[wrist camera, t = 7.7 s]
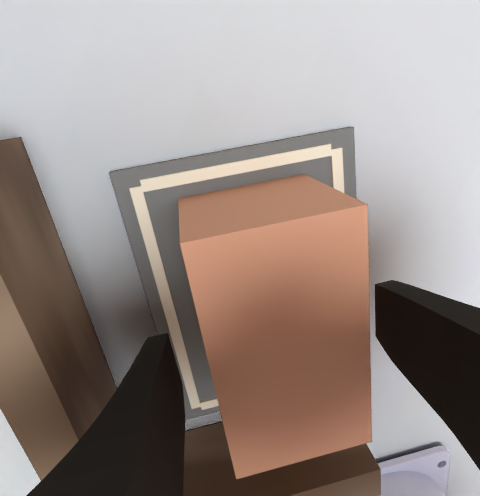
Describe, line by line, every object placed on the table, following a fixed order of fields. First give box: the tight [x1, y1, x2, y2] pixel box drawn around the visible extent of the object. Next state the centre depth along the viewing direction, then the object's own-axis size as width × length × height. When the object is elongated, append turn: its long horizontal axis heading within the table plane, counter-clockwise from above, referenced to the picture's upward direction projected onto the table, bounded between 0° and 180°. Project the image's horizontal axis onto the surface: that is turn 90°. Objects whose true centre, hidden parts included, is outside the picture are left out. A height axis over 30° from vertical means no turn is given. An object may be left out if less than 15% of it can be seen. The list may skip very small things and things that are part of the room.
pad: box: [109, 127, 356, 420], centre depth 14 cm, size 11×8×1 cm
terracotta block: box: [178, 174, 372, 479], centre depth 12 cm, size 4×8×4 cm, turn 9°
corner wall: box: [0, 137, 381, 496], centre depth 12 cm, size 15×11×4 cm
